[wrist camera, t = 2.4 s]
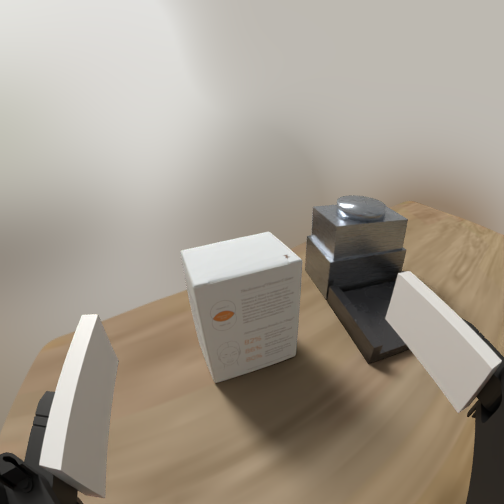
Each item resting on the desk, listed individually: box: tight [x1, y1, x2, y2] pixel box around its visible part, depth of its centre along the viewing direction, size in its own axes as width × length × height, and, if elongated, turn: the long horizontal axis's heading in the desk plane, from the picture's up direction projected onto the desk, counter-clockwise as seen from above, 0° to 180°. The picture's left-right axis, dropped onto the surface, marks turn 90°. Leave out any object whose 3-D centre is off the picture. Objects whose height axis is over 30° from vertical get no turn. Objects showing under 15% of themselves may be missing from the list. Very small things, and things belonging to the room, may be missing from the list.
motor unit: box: [305, 196, 409, 364], centre depth 29 cm, size 11×18×10 cm, turn 11°
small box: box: [180, 232, 302, 383], centre depth 23 cm, size 8×6×10 cm
